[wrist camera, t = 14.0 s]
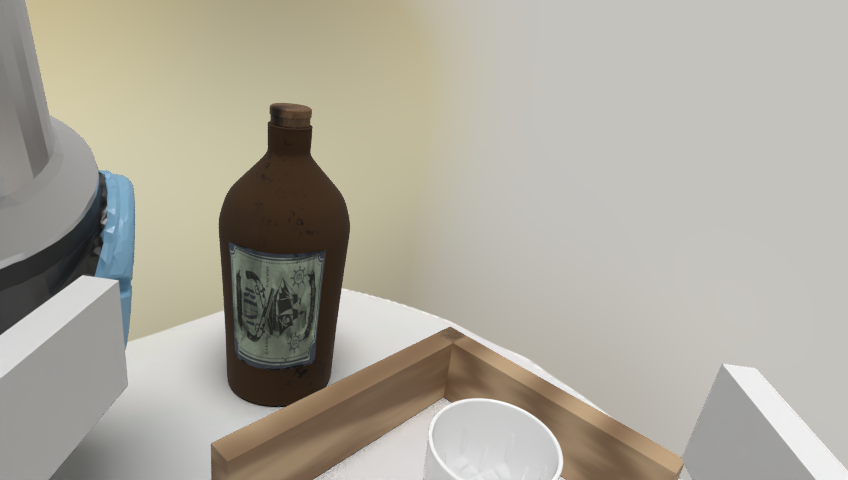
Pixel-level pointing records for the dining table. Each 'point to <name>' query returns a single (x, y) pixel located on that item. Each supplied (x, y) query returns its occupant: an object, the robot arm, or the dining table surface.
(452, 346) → the corner pen
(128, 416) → the dining table surface
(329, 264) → the brown bottle
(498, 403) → the white cup
